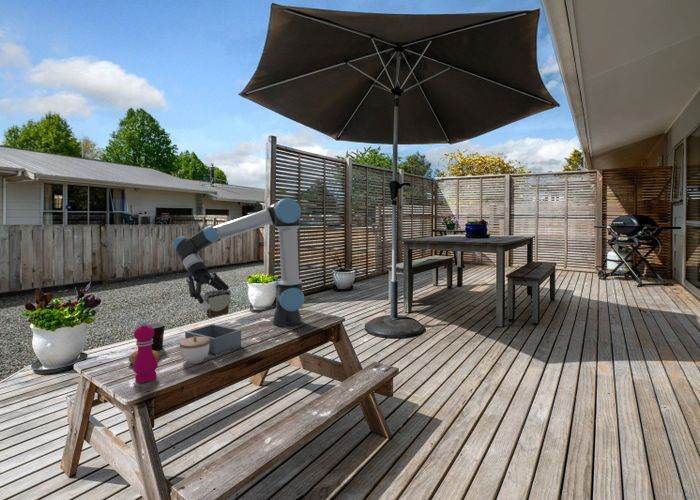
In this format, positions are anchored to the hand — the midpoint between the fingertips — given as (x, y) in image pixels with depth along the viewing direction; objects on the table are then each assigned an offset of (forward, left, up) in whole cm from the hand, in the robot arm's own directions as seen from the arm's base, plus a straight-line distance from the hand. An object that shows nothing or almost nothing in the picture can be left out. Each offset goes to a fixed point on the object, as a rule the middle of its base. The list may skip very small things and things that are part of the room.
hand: (219, 306), depth 153 cm
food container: (0, -3, -4) cm, 5 cm away
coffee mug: (+14, -23, -18) cm, 32 cm away
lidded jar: (+15, +3, -18) cm, 24 cm away
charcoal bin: (+1, -3, -18) cm, 18 cm away
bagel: (+25, -12, -18) cm, 33 cm away
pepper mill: (+34, +3, -18) cm, 39 cm away
